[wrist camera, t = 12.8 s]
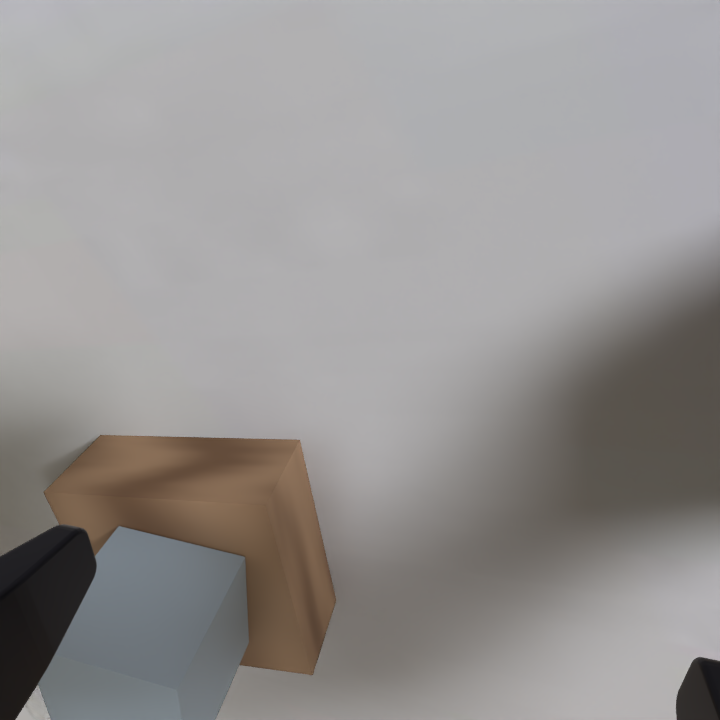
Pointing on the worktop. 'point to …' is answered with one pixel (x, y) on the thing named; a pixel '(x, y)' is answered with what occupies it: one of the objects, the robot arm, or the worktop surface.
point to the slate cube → (152, 634)
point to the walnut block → (217, 524)
